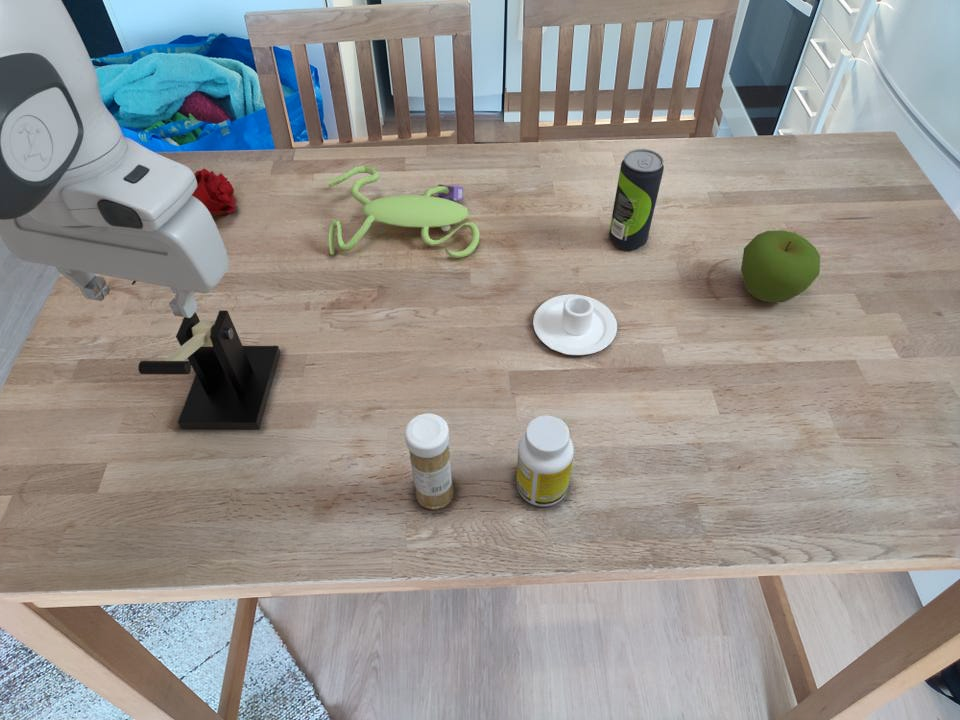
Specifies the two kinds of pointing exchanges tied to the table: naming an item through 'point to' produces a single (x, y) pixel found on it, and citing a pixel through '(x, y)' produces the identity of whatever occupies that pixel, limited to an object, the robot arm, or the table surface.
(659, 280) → the table surface
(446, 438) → the sprinkles bottle
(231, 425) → the bracket
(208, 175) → the flower
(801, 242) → the apple
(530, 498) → the pill bottle
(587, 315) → the candle holder
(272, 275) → the table surface
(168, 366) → the lever
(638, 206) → the beverage can
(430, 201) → the figurine
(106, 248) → the robot arm
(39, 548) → the table surface
